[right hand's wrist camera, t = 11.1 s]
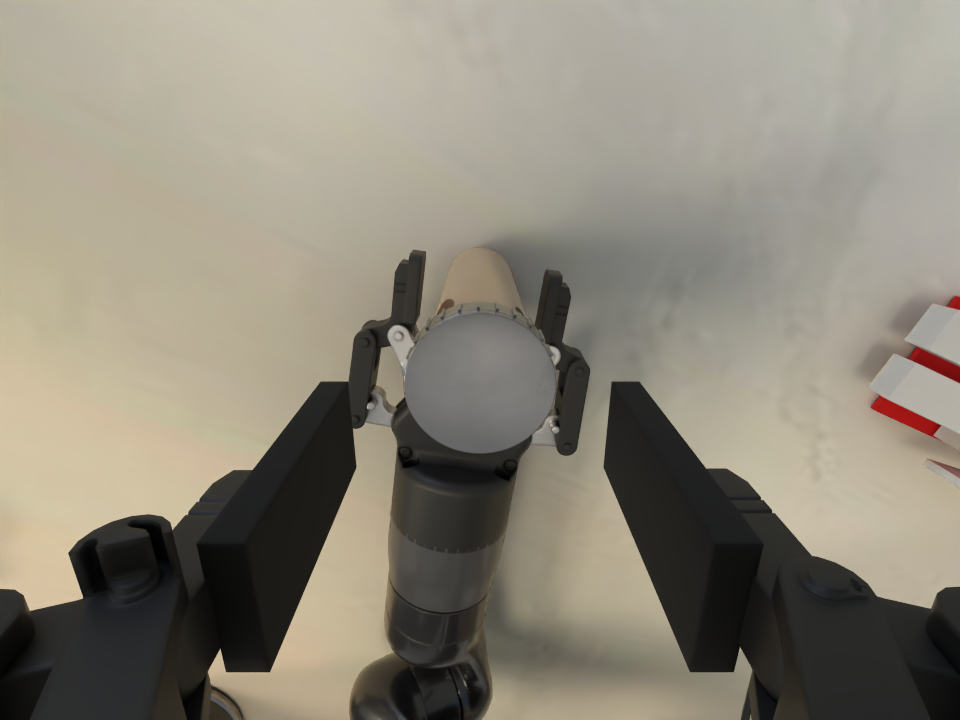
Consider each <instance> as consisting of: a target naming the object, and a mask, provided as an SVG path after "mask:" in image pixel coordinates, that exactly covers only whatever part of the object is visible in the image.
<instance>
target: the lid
mask: <svg viewBox="0 0 960 720" xmlns="http://www.w3.org/2000/svg"><path fill="white" fill-rule="evenodd" d="M413 343H414V345H413V347H410V349H409V351H408V354H407V356H406V359H407V360H408V361H407V364H406V367H405V370H404V372H403V376H404V394H405V399H406V402H407V405H408V408H409V410H410V412H411V414H412V416H413V418H414V419H415V421H416V422H417V424H418V425H419V426H420V427H421V428H422V429H423V431H425V432H426V433H427V434H428V435H429V436H430V437H431V438H433V439H434V440H436V441H437V442H439V443H441V444H443V445H445V446H447V447H449V448H452V449H454V450H458V451H462V452H467V453H477V454H485V453H494V452H498V451H503V450H505V449H508V448H511V447H513V446H515V445H517V444H519V443H521V442H523V441H524V440H526V439H527V438H529V437H530V436H531V435H532V434H533V433H535V431H536V430H537V429H538V428H539V427H540V426H541V425H542V423H543V422H544V421H545V419H546V418H547V416H548V414H549V412H550V410H551V408H552V405H553V402H554V398H555V394H556V373H557V370H556V367H555V365H554V362H553V360H552V358H551V357H552V356H553V354H552V351H551V349H550V346H549V344H547V345H546V343H545V338H544V336H543V333H542V331H541V329H539V330H538V329H537V328H536V327H535V326H534V325H533V324H532V322H531V319H530V318H529V317H527V318H526V317H525V316H523V315H522V314H520V313H519V312H517V311H516V309H515V308H514V307H512V309H511V308H509V307H507V306H504V305H500V304H498V302H497V301H495V303H491V302H480V300H477V302H469V303H464V304H462V302H459V304H458V305H456V306H454V307H451V308H448V309H447V310H445V308H444V309H442V311H441V313H439V314H438V315H437V316H435V317H434V318H433V319H432V320H431V319H430V318H429V319H428V320H427V323H426V326H425V327H424V328H423V329H422V331H421V332H417V334H416V337H415V339H414V342H413Z"/></svg>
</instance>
